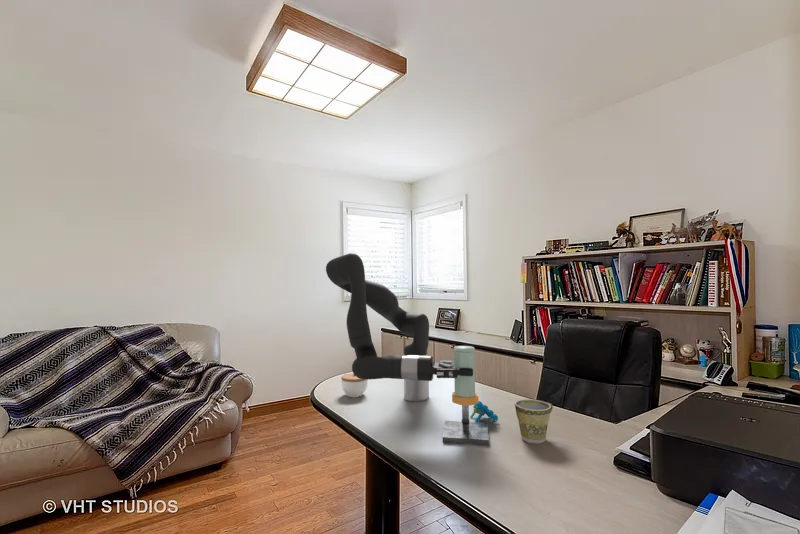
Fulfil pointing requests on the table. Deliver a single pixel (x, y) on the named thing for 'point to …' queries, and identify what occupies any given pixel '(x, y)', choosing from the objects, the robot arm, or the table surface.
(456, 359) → the pale green canister
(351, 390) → the lidded jar
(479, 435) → the post stand
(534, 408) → the ceramic cup
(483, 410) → the blue toy dinosaur
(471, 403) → the collar
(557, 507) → the table surface
